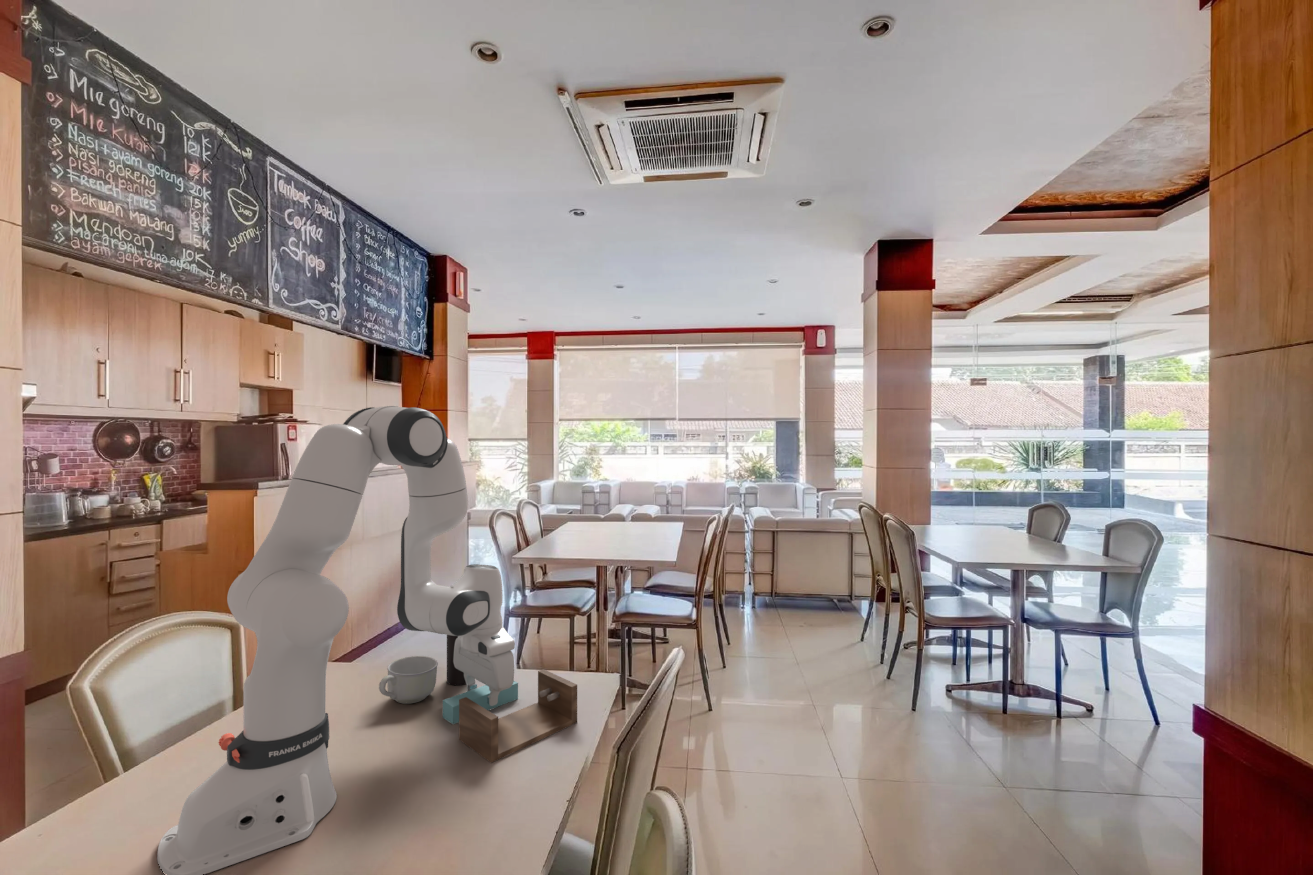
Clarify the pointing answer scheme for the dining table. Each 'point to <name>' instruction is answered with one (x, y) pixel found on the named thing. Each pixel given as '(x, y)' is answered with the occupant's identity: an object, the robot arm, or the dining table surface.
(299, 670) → the robot arm
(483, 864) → the dining table surface
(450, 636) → the bottle
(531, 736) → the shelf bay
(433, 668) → the teacup
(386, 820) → the dining table surface
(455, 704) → the shelf board
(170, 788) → the dining table surface
